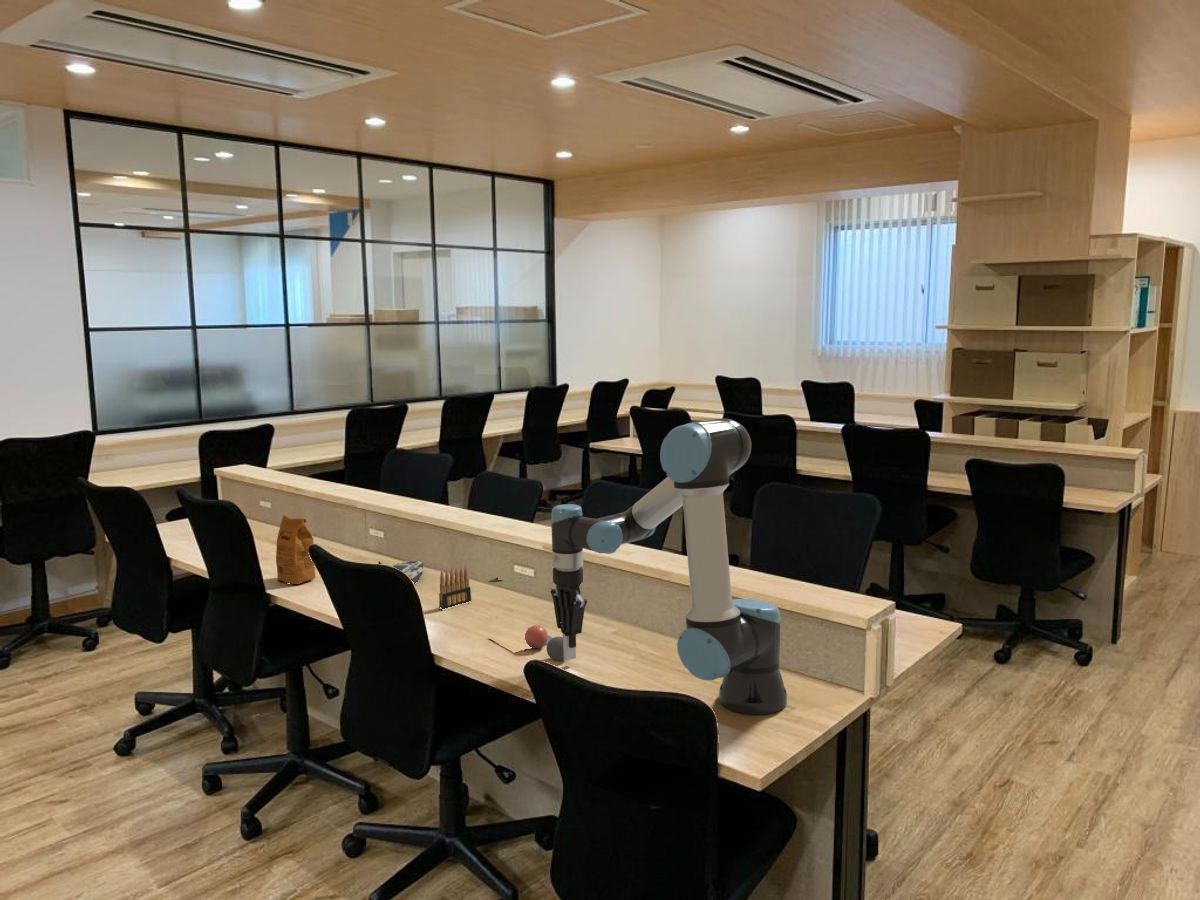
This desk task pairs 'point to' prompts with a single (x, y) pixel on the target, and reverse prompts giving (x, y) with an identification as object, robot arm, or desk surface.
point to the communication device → (411, 569)
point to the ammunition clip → (454, 588)
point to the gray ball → (556, 648)
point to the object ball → (536, 636)
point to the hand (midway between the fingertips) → (569, 658)
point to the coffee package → (294, 552)
